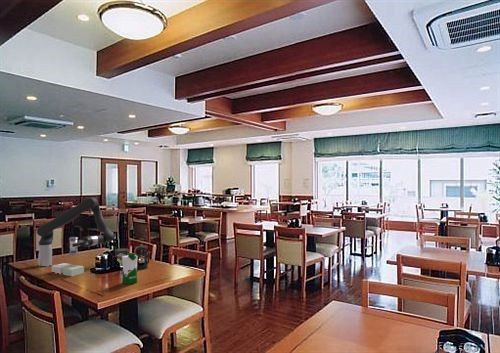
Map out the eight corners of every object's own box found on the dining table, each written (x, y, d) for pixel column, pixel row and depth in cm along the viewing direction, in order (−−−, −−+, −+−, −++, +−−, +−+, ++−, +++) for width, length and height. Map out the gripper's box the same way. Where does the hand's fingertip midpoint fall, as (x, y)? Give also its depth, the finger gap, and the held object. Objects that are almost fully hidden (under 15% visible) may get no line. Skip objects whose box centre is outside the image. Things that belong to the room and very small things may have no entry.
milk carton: (127, 285, 232) (127, 255, 232) (120, 283, 238) (120, 253, 238) (139, 282, 239) (139, 252, 239) (131, 280, 245) (131, 251, 245)
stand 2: (62, 274, 259) (62, 267, 259) (75, 271, 268) (75, 264, 268) (71, 276, 254) (71, 269, 254) (83, 273, 263) (83, 266, 263)
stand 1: (51, 272, 265) (51, 265, 265) (64, 269, 274) (64, 263, 274) (60, 274, 260) (60, 267, 260) (72, 271, 269) (72, 264, 269)
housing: (67, 254, 260) (67, 238, 260) (74, 252, 265) (74, 236, 265) (72, 255, 257) (72, 238, 257) (79, 253, 262) (79, 237, 262)
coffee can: (128, 268, 276) (128, 250, 276) (114, 269, 273) (114, 251, 273) (129, 265, 286) (129, 248, 286) (115, 266, 283) (115, 248, 283)
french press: (139, 270, 270) (139, 240, 270) (132, 268, 276) (132, 239, 276) (152, 267, 280) (152, 238, 280) (144, 265, 285) (144, 237, 285)
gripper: (84, 235, 277) (63, 239, 262) (96, 237, 271) (76, 240, 255) (84, 245, 277) (63, 249, 262) (96, 246, 271) (76, 251, 256)
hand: (70, 245), depth 259 cm, fingers closed on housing, 5 cm apart
